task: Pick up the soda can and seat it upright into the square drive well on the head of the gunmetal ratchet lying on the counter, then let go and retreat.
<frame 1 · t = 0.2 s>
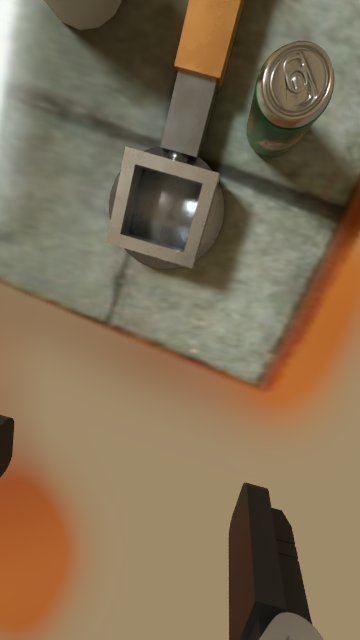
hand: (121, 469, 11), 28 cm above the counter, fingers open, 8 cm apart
soda can: (272, 130, 33), on the counter
ratchet: (167, 211, 36), on the counter
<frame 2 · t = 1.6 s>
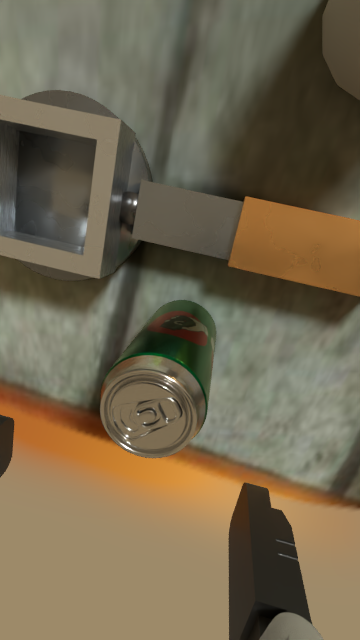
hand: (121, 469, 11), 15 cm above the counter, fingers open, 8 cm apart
soda can: (183, 329, 26), on the counter
ratchet: (71, 194, 24), on the counter
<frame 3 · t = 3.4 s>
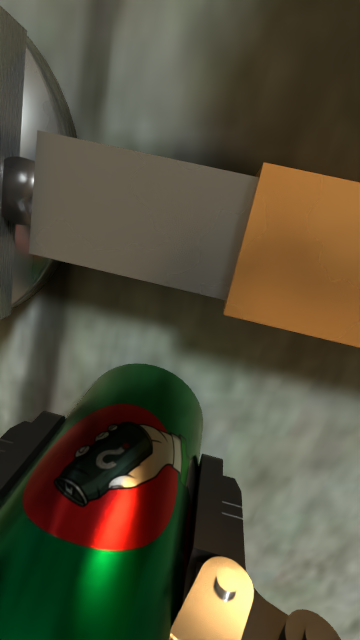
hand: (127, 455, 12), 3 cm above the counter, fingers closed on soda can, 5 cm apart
soda can: (147, 408, 15), on the counter, touching gripper
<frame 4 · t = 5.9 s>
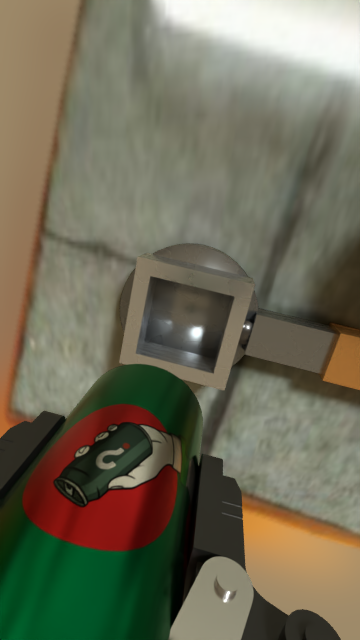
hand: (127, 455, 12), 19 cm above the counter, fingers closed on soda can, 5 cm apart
soda can: (147, 408, 15), point 16 cm above the counter, touching gripper
ratchet: (189, 311, 30), on the counter
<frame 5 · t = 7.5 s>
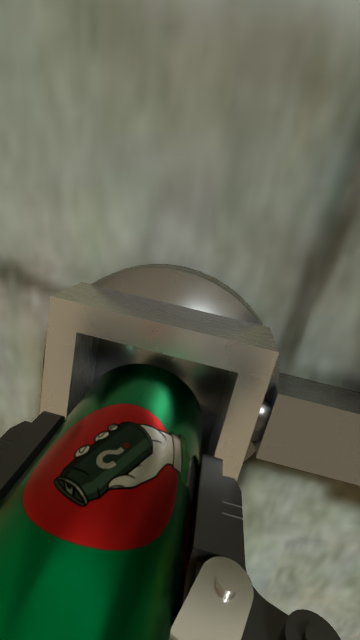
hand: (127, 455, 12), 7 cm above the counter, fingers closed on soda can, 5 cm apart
soda can: (147, 408, 15), point 4 cm above the counter, touching gripper
ratchet: (161, 375, 18), on the counter
when the fingers open (6 cm above the counter, at t = 8.5 s): soda can drops 1 cm, resting on ratchet.
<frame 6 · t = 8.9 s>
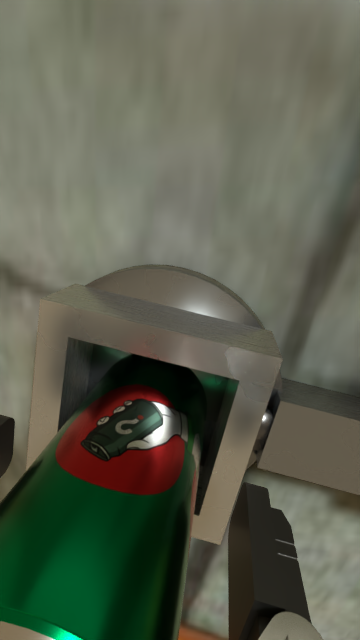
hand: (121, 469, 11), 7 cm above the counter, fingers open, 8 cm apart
soda can: (156, 394, 16), point 1 cm above the counter, touching ratchet
ratchet: (159, 380, 18), on the counter
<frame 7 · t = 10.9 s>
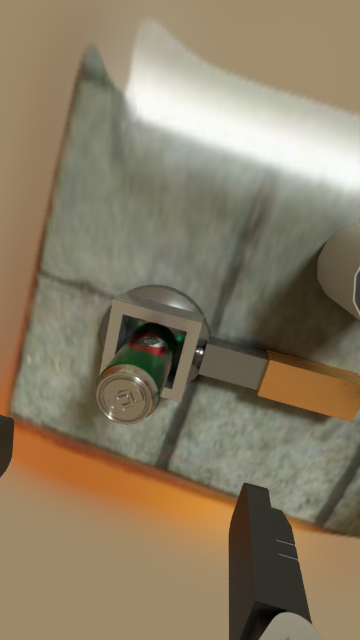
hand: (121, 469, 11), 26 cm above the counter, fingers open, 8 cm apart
soda can: (155, 342, 37), point 1 cm above the counter, touching ratchet
ratchet: (156, 337, 38), on the counter
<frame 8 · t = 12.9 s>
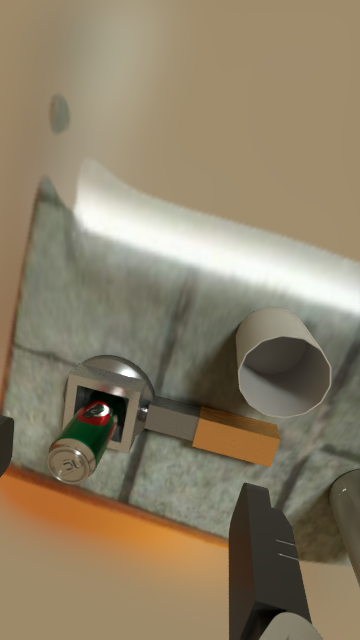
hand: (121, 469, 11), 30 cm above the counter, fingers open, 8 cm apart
cup: (270, 340, 41), on the counter
soda can: (109, 401, 44), point 1 cm above the counter, touching ratchet
ratchet: (111, 396, 46), on the counter
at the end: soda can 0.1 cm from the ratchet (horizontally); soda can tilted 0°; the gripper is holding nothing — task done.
